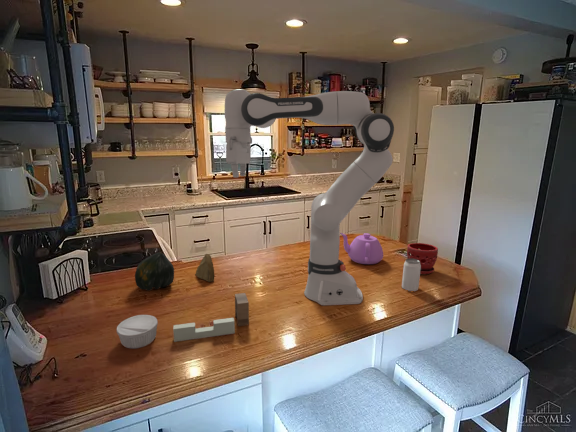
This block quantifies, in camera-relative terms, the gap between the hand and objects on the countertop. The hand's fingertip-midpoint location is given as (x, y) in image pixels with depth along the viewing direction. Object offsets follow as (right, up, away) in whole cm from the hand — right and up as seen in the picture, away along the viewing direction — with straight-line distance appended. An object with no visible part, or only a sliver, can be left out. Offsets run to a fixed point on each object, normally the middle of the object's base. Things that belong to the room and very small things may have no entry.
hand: (239, 176), depth 125 cm
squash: (-36, -43, +14) cm, 58 cm away
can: (+68, -44, +17) cm, 82 cm away
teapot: (+54, -37, +48) cm, 81 cm away
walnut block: (+2, -49, -10) cm, 50 cm away
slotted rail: (-8, -51, -19) cm, 55 cm away
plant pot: (+79, -40, +35) cm, 95 cm away
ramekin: (-27, -52, -21) cm, 62 cm away
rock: (-18, -41, +23) cm, 50 cm away
